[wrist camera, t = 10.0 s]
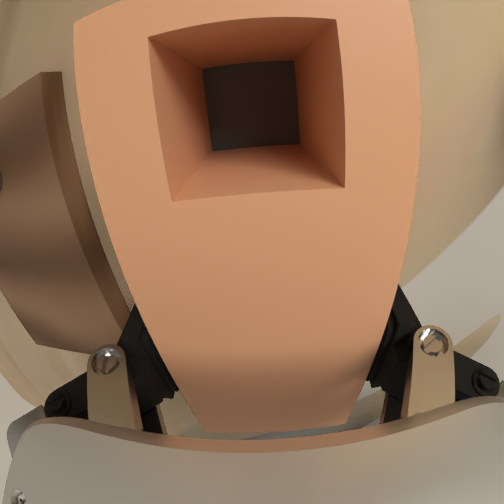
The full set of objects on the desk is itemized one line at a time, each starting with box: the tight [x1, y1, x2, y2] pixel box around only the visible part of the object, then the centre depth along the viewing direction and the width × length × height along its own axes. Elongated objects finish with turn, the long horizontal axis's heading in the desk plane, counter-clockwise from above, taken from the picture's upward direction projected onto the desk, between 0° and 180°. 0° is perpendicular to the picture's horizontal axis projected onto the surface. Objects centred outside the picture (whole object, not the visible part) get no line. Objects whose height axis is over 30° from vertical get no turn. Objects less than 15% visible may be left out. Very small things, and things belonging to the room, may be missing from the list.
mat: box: [202, 61, 300, 151], centre depth 11 cm, size 16×10×1 cm, turn 5°
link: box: [73, 0, 421, 433], centre depth 8 cm, size 14×6×5 cm, turn 5°
